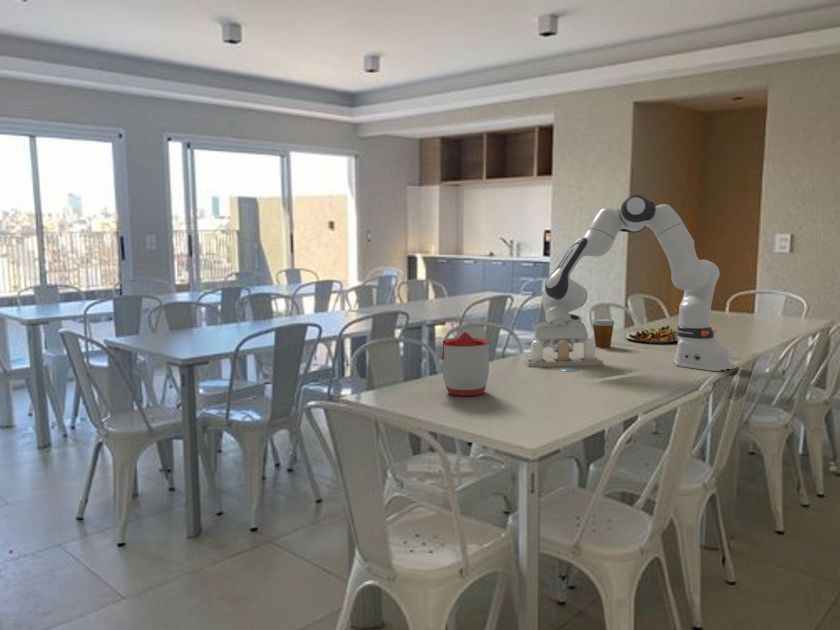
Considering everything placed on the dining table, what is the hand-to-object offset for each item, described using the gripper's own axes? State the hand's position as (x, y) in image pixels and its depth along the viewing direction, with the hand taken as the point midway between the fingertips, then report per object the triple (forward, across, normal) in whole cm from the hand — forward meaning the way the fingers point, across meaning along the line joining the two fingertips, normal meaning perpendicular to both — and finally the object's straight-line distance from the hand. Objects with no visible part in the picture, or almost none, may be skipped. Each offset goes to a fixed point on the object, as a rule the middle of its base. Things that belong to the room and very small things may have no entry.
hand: (563, 351), depth 264 cm
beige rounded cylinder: (+3, 0, +4) cm, 5 cm away
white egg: (+3, -10, +4) cm, 11 cm away
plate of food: (-35, +56, +44) cm, 79 cm away
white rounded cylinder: (+3, +10, +4) cm, 11 cm away
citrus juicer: (+30, -41, -21) cm, 55 cm away
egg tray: (+4, 0, +5) cm, 6 cm away
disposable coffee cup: (-24, +27, +33) cm, 49 cm away
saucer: (+12, -1, -3) cm, 12 cm away
